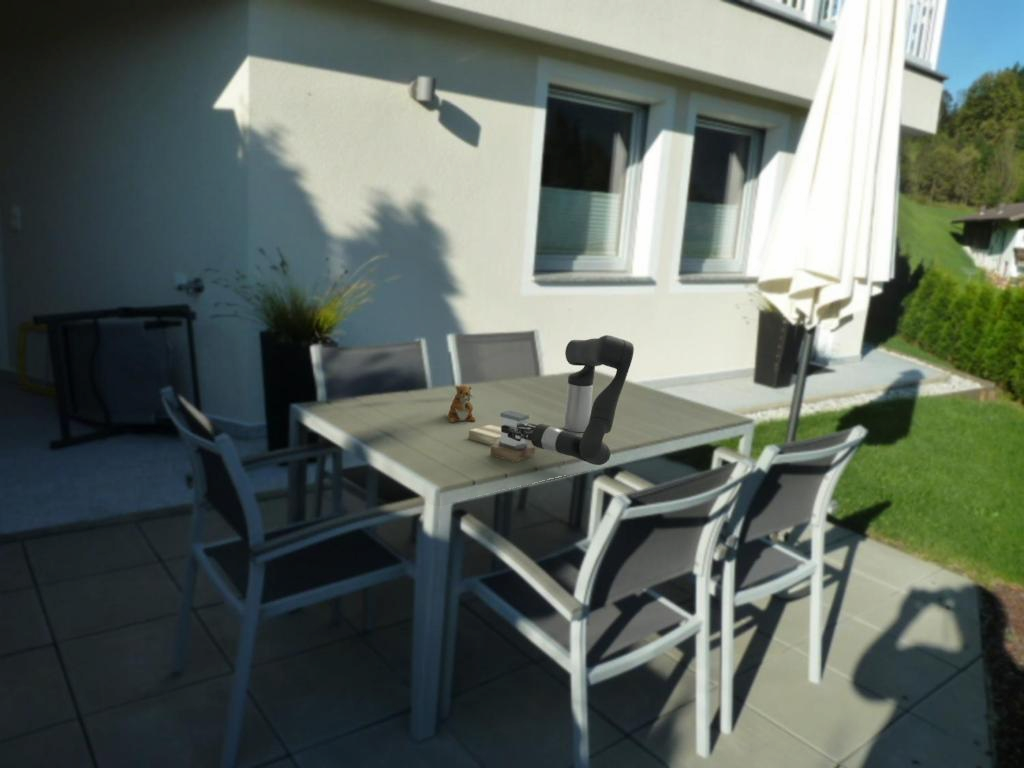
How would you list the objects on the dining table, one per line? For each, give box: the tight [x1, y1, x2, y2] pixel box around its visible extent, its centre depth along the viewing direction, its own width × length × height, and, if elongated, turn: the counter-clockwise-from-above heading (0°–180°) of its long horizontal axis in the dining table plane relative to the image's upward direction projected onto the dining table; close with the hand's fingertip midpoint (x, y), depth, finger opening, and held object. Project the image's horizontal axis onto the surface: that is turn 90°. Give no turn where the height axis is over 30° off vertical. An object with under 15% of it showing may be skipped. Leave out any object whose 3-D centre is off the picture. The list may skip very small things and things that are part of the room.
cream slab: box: [468, 423, 502, 446], centre depth 261 cm, size 12×12×3 cm
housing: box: [499, 410, 530, 451], centre depth 242 cm, size 5×8×11 cm, turn 51°
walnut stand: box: [490, 444, 536, 463], centre depth 244 cm, size 10×10×3 cm
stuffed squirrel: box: [448, 385, 476, 423], centre depth 284 cm, size 10×14×13 cm
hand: (507, 426), depth 244 cm, fingers open, 5 cm apart
